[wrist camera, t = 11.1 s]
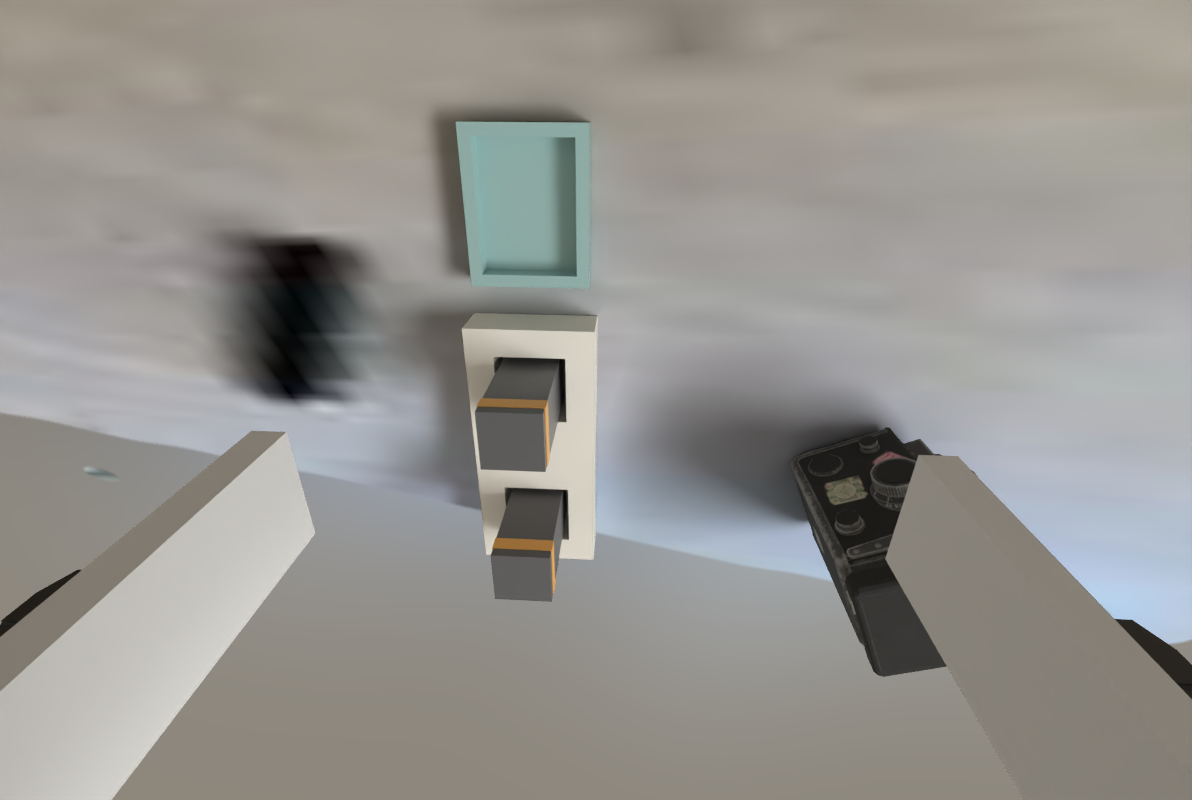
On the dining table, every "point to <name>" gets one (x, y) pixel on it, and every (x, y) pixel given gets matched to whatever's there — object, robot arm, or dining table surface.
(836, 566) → the camera
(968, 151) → the dining table surface
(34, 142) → the dining table surface
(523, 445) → the plug
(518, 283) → the tray
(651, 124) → the dining table surface
